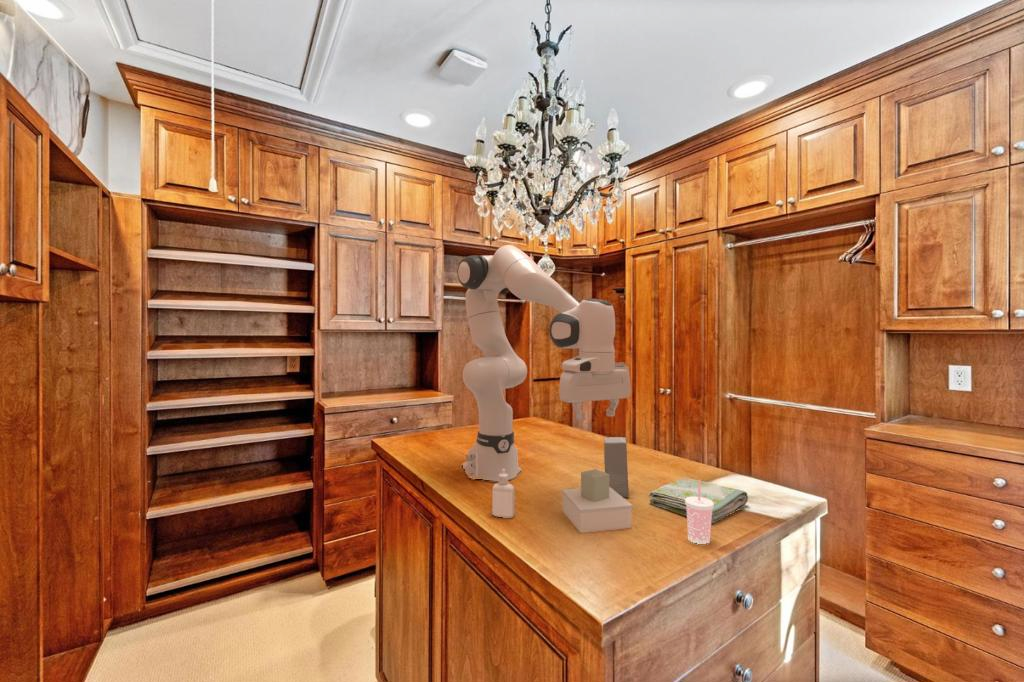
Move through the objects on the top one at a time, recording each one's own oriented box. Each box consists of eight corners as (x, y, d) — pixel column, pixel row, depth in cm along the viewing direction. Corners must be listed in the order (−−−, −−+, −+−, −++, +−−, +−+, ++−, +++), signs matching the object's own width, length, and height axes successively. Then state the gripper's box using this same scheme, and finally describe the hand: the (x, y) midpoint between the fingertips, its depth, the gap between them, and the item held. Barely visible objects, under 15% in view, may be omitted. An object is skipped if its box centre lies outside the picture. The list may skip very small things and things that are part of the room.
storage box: (561, 512, 119) (561, 489, 118) (608, 508, 122) (608, 486, 121) (580, 535, 106) (580, 509, 105) (632, 529, 108) (632, 505, 108)
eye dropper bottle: (506, 521, 112) (506, 474, 111) (489, 515, 115) (489, 469, 115) (517, 516, 115) (517, 469, 115) (500, 510, 119) (500, 465, 118)
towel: (645, 505, 124) (646, 487, 123) (688, 488, 137) (688, 472, 136) (709, 528, 109) (709, 508, 109) (749, 507, 122) (750, 489, 122)
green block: (580, 495, 114) (581, 472, 114) (595, 491, 117) (595, 469, 117) (594, 502, 110) (594, 477, 110) (609, 497, 113) (609, 474, 113)
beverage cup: (678, 535, 105) (679, 476, 104) (701, 532, 106) (702, 474, 106) (695, 548, 99) (696, 485, 98) (719, 545, 100) (720, 483, 100)
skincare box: (629, 498, 127) (629, 443, 127) (603, 496, 129) (603, 441, 128) (627, 488, 136) (628, 436, 135) (603, 486, 137) (603, 435, 137)
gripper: (620, 361, 120) (619, 412, 121) (556, 363, 111) (555, 418, 111) (636, 362, 115) (635, 416, 115) (570, 365, 105) (569, 423, 106)
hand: (595, 417), depth 113 cm, fingers open, 8 cm apart
